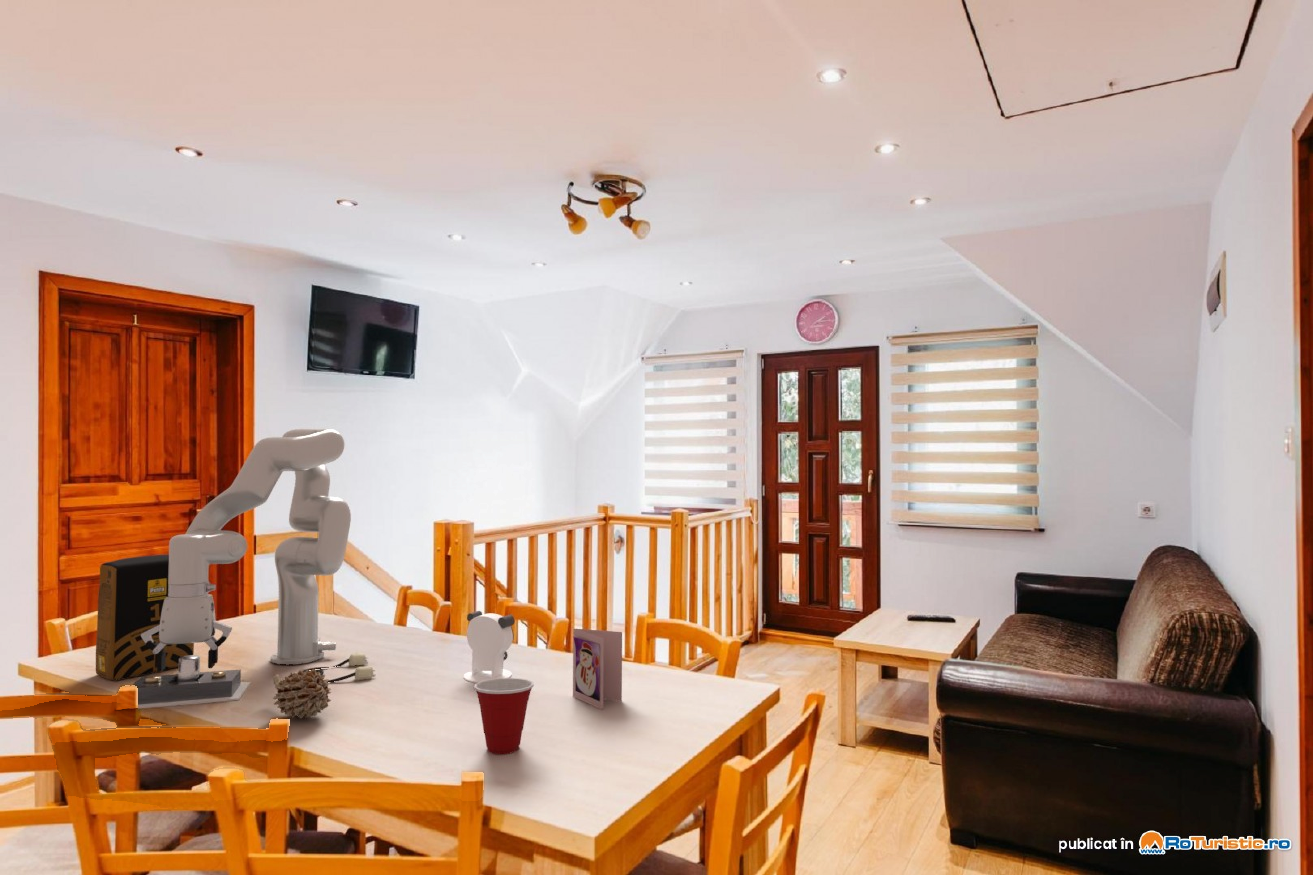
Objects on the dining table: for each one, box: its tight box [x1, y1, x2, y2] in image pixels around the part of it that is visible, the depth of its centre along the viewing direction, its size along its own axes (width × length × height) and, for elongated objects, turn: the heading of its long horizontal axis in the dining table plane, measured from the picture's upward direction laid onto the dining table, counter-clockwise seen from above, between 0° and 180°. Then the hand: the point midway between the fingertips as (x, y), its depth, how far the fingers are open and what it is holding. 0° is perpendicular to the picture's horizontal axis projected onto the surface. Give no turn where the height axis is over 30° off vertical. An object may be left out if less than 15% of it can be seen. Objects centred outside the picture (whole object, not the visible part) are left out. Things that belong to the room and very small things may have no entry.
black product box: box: [95, 553, 195, 682], centre depth 185 cm, size 11×19×28 cm, turn 147°
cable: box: [302, 653, 376, 683], centre depth 182 cm, size 16×16×4 cm
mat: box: [137, 681, 251, 710], centre depth 165 cm, size 23×12×1 cm, turn 108°
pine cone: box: [272, 669, 333, 719], centre depth 154 cm, size 22×10×10 cm, turn 53°
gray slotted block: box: [131, 668, 242, 705], centre depth 165 cm, size 20×9×4 cm, turn 108°
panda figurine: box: [463, 610, 515, 684], centre depth 182 cm, size 12×11×15 cm
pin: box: [177, 654, 201, 683], centre depth 165 cm, size 4×4×8 cm
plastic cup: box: [473, 677, 535, 755], centre depth 137 cm, size 11×11×12 cm
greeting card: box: [572, 628, 623, 711], centre depth 164 cm, size 11×7×15 cm, turn 40°
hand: (186, 668), depth 165 cm, fingers open, 9 cm apart
